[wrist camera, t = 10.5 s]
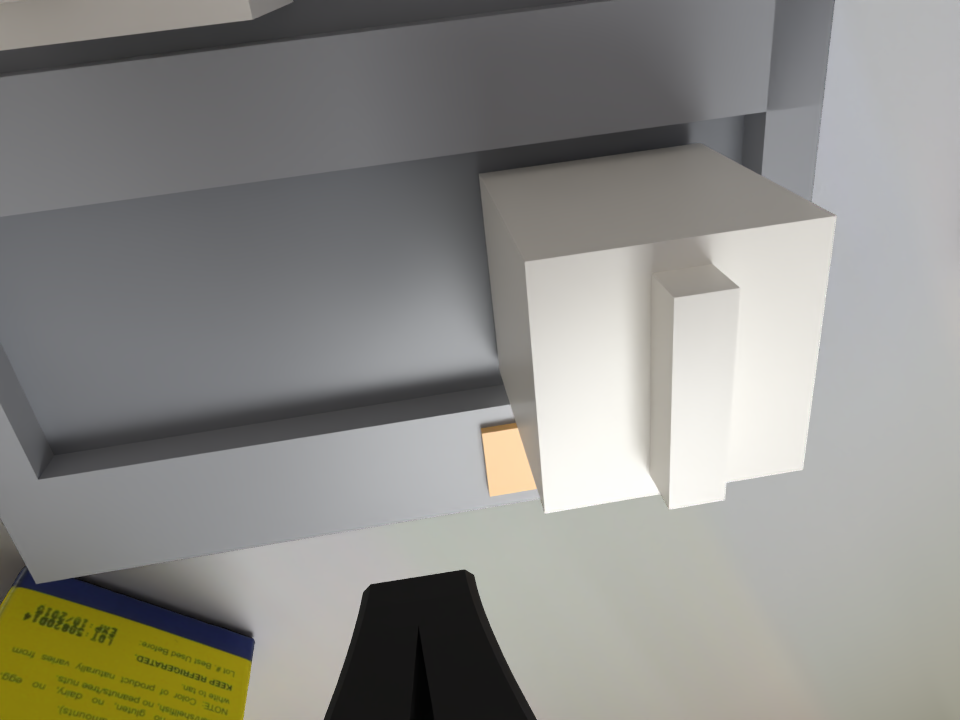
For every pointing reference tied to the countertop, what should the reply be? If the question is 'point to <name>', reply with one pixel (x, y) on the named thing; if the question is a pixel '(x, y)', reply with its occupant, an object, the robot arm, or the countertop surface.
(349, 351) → the switch board
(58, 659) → the supplement box
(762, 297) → the tab
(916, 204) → the countertop surface
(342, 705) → the robot arm
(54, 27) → the beige block
